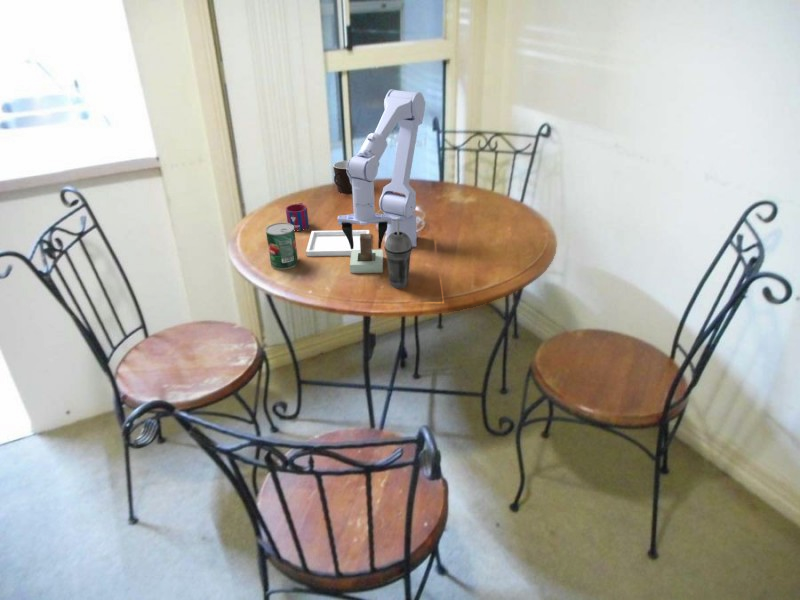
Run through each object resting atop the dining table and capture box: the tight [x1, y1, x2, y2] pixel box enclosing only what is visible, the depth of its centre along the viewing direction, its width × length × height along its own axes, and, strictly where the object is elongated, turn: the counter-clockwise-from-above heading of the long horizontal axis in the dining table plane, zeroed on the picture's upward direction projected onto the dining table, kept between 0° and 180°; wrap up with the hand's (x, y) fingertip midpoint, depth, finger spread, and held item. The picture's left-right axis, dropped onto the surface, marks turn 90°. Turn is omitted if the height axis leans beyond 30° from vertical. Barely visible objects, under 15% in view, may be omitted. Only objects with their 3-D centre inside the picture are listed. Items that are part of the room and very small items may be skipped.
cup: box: [285, 202, 310, 232], centre depth 184 cm, size 7×10×7 cm
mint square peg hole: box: [349, 249, 384, 274], centre depth 161 cm, size 9×9×3 cm
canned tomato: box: [265, 222, 299, 270], centre depth 161 cm, size 8×8×11 cm
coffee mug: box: [332, 160, 353, 195], centre depth 208 cm, size 12×9×10 cm
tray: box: [305, 229, 370, 257], centre depth 172 cm, size 18×14×2 cm
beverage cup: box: [384, 218, 413, 289], centre depth 147 cm, size 7×7×20 cm
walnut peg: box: [360, 233, 373, 261], centre depth 159 cm, size 3×3×9 cm
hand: (365, 247), depth 158 cm, fingers open, 7 cm apart
